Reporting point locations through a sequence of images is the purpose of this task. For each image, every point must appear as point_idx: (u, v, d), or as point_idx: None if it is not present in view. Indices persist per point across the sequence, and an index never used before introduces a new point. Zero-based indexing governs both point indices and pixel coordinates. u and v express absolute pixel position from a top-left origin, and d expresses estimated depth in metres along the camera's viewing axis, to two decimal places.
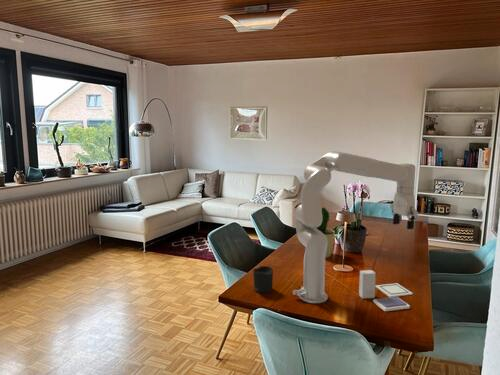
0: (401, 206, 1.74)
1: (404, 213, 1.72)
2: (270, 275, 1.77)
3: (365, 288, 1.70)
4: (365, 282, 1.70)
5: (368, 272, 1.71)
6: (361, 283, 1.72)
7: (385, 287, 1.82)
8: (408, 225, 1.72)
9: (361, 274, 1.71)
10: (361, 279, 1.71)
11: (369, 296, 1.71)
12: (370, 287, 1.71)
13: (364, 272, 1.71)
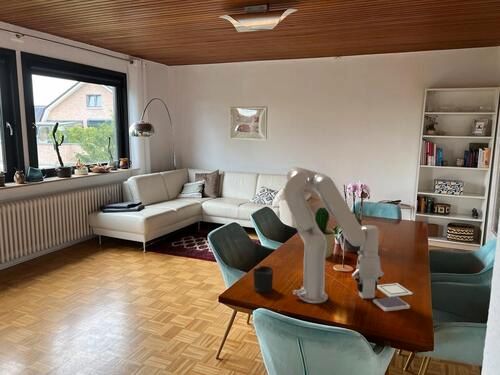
0: (374, 269, 1.69)
1: (378, 275, 1.70)
2: (270, 275, 1.77)
3: (365, 288, 1.70)
4: (365, 282, 1.70)
5: None
6: None
7: (385, 287, 1.82)
8: None
9: None
10: None
11: (369, 296, 1.71)
12: (370, 287, 1.71)
13: None
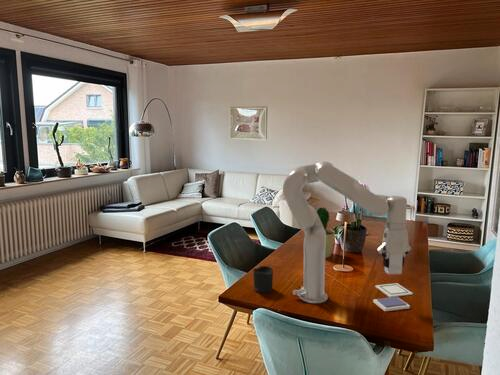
0: (402, 243, 1.58)
1: (406, 249, 1.59)
2: (270, 275, 1.77)
3: (392, 263, 1.60)
4: (391, 257, 1.59)
5: None
6: None
7: (385, 287, 1.82)
8: None
9: None
10: None
11: (396, 272, 1.61)
12: (397, 262, 1.60)
13: None
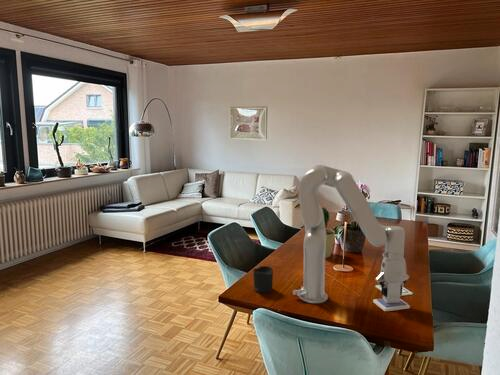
0: (400, 273, 1.60)
1: (404, 278, 1.61)
2: (270, 275, 1.77)
3: (390, 292, 1.62)
4: (389, 286, 1.61)
5: None
6: None
7: None
8: None
9: None
10: None
11: (394, 301, 1.63)
12: (396, 291, 1.62)
13: None
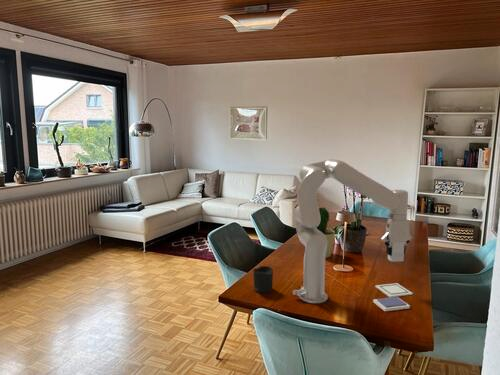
0: (403, 233, 1.73)
1: (407, 238, 1.74)
2: (270, 275, 1.77)
3: (394, 251, 1.75)
4: (394, 245, 1.74)
5: None
6: None
7: (385, 287, 1.82)
8: None
9: None
10: None
11: (398, 259, 1.76)
12: (400, 250, 1.75)
13: None
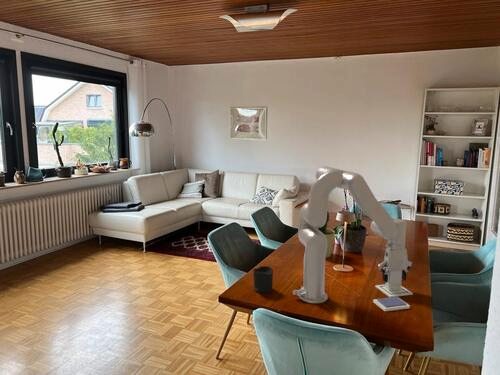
0: (401, 262, 1.75)
1: (405, 267, 1.76)
2: (270, 275, 1.77)
3: (392, 281, 1.77)
4: (392, 275, 1.76)
5: None
6: (388, 276, 1.78)
7: (385, 287, 1.82)
8: None
9: None
10: (388, 272, 1.78)
11: (396, 289, 1.78)
12: (397, 280, 1.77)
13: None
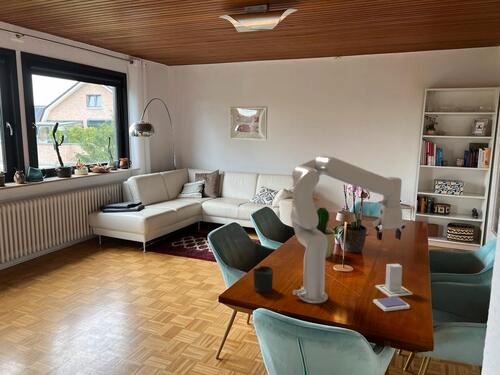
0: (396, 219, 1.75)
1: (400, 225, 1.76)
2: (270, 275, 1.77)
3: (392, 281, 1.77)
4: (392, 275, 1.76)
5: (395, 265, 1.77)
6: (388, 276, 1.78)
7: (385, 287, 1.82)
8: None
9: (388, 267, 1.77)
10: (388, 272, 1.78)
11: (396, 289, 1.78)
12: (397, 280, 1.77)
13: (391, 265, 1.77)
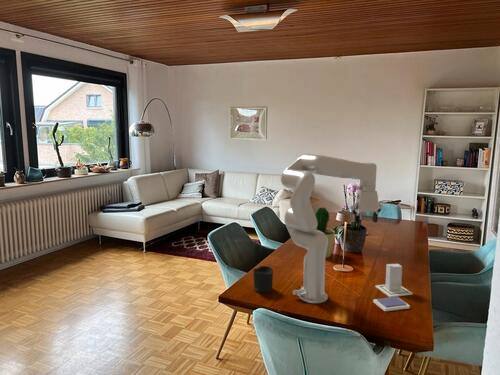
0: (372, 203, 1.83)
1: (376, 209, 1.84)
2: (270, 275, 1.77)
3: (392, 281, 1.77)
4: (392, 275, 1.76)
5: (395, 265, 1.77)
6: (388, 276, 1.78)
7: (385, 287, 1.82)
8: (376, 219, 1.87)
9: (388, 267, 1.77)
10: (388, 272, 1.78)
11: (396, 289, 1.78)
12: (397, 280, 1.77)
13: (391, 265, 1.77)
